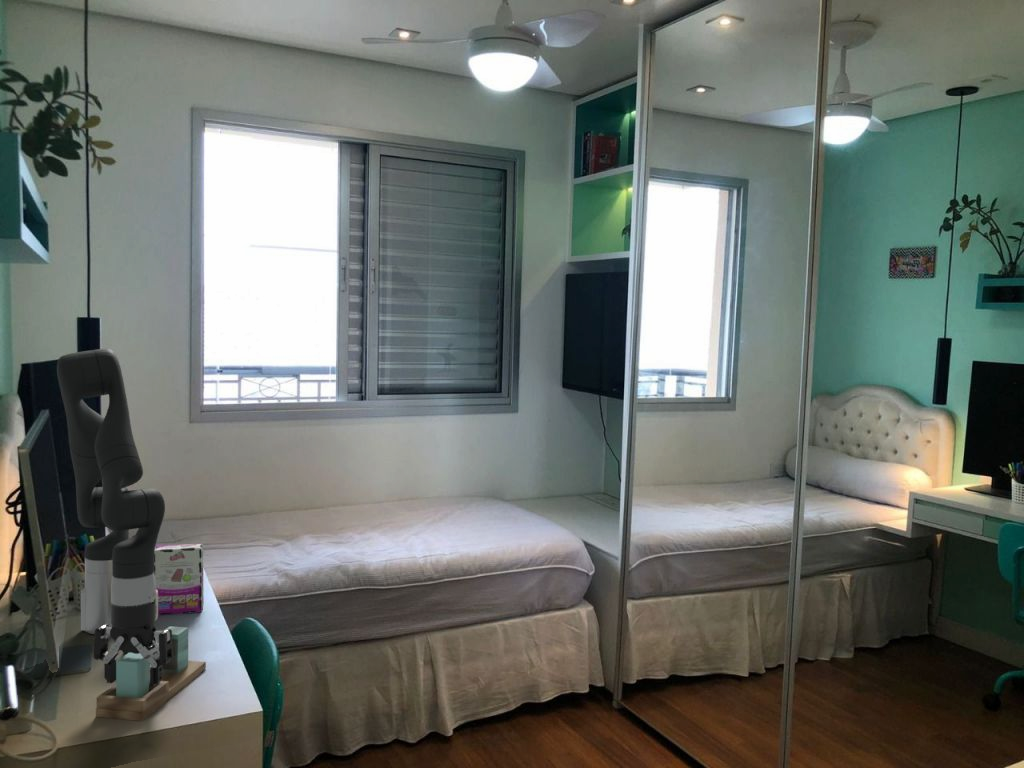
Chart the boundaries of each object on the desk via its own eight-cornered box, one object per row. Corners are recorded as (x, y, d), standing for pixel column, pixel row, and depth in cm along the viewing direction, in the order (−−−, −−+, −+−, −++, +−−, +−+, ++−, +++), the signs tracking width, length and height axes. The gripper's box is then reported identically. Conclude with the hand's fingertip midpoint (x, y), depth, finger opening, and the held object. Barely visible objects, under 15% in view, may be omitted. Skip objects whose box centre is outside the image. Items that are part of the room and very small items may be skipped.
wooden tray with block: (95, 716, 147) (95, 665, 146) (164, 665, 169) (165, 621, 169) (142, 720, 145) (142, 669, 145) (205, 669, 168) (205, 624, 168)
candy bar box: (203, 606, 206) (204, 542, 205) (201, 612, 201) (202, 547, 200) (156, 609, 203) (156, 544, 202) (153, 615, 198) (153, 549, 197)
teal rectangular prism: (136, 705, 148) (136, 662, 148) (116, 703, 149) (116, 660, 148) (150, 694, 153) (150, 653, 152) (130, 692, 153) (130, 651, 153)
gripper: (84, 601, 146) (84, 689, 147) (158, 606, 145) (158, 695, 146) (109, 588, 154) (110, 672, 155) (180, 593, 152) (180, 678, 153)
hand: (133, 683), depth 150 cm, fingers open, 8 cm apart
